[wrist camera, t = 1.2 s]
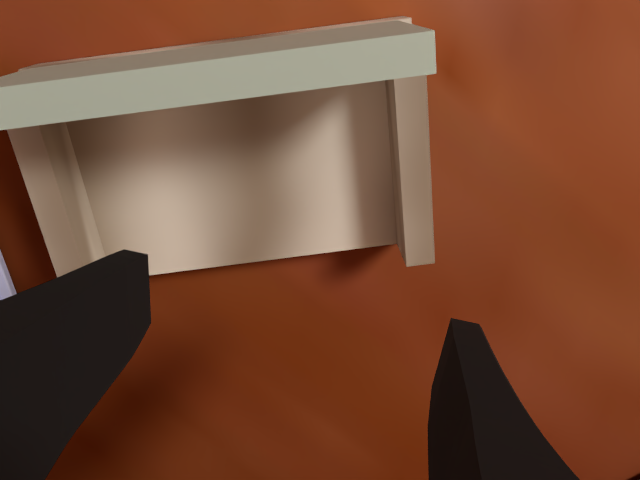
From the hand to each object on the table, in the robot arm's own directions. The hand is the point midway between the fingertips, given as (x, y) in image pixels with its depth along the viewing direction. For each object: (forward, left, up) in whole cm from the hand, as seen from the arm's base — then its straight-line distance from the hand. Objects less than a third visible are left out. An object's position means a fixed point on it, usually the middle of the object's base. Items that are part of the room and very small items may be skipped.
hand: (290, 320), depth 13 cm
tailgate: (-2, +6, -8) cm, 10 cm away
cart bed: (-2, +2, -10) cm, 10 cm away
